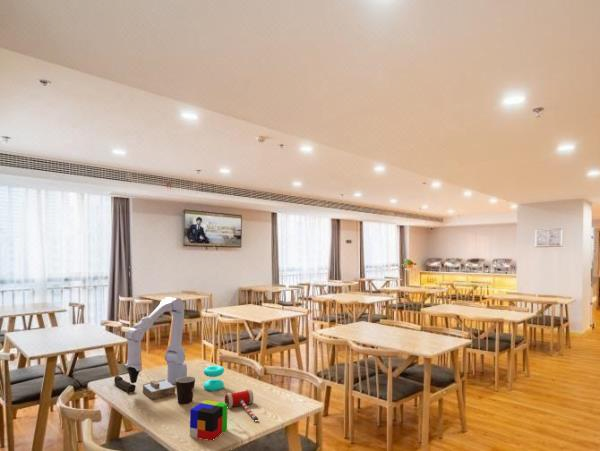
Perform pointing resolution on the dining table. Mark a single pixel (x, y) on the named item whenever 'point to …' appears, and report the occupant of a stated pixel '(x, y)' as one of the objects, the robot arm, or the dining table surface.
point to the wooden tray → (159, 392)
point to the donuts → (213, 383)
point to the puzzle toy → (208, 419)
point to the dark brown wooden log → (124, 384)
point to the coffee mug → (185, 389)
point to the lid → (157, 385)
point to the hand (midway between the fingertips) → (133, 382)
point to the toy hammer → (240, 400)
